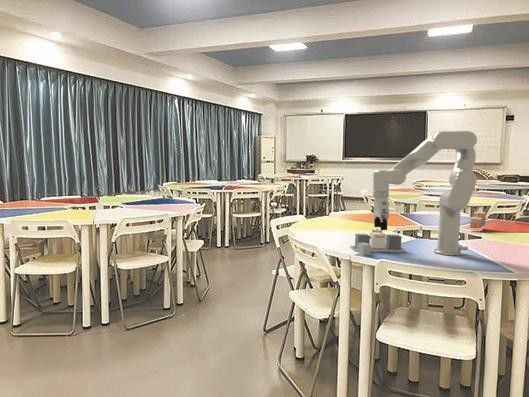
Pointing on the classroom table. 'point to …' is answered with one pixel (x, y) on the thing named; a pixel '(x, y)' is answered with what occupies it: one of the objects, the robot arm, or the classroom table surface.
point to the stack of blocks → (478, 220)
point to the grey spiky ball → (375, 231)
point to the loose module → (378, 240)
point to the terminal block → (364, 249)
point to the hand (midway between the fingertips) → (380, 228)
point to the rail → (391, 246)
